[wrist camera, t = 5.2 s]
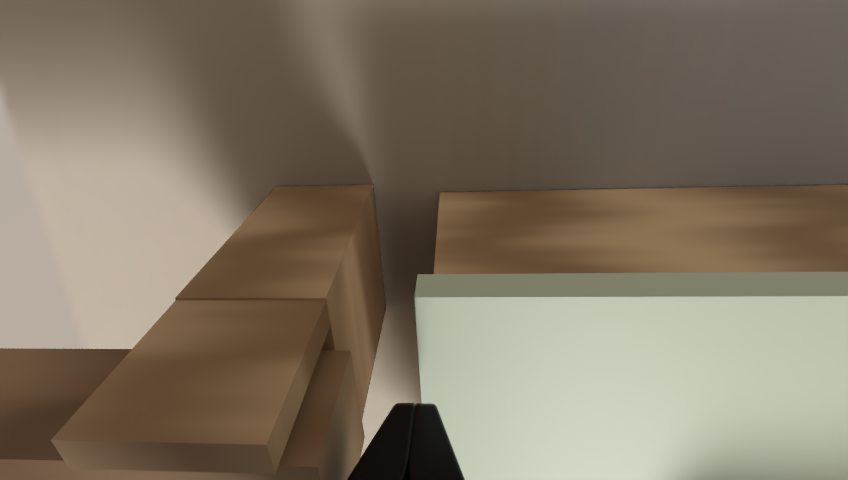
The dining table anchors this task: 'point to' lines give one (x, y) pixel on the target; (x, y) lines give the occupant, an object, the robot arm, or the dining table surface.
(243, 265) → the tan wooden box
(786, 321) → the lid
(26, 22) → the dining table surface
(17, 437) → the wooden plank
